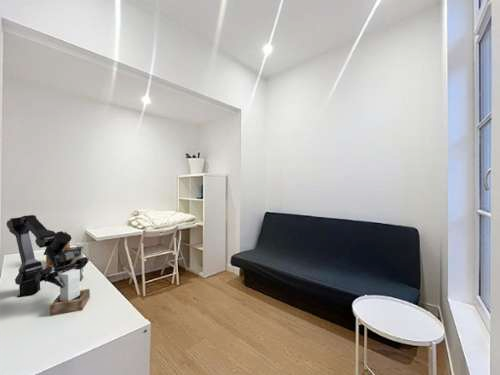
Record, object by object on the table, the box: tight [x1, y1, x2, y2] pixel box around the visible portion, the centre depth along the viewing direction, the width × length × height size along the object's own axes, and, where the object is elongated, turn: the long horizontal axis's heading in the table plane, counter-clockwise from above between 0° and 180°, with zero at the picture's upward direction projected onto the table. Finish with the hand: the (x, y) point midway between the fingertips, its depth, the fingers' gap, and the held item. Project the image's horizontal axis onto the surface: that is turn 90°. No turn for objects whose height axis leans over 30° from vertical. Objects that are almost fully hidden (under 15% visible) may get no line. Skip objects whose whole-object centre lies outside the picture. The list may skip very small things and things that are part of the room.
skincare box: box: [59, 269, 81, 301], centre depth 98 cm, size 6×4×12 cm
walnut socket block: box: [49, 288, 91, 317], centre depth 98 cm, size 11×11×4 cm
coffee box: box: [61, 245, 84, 274], centre depth 134 cm, size 9×6×16 cm
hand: (72, 283), depth 98 cm, fingers closed on skincare box, 7 cm apart
